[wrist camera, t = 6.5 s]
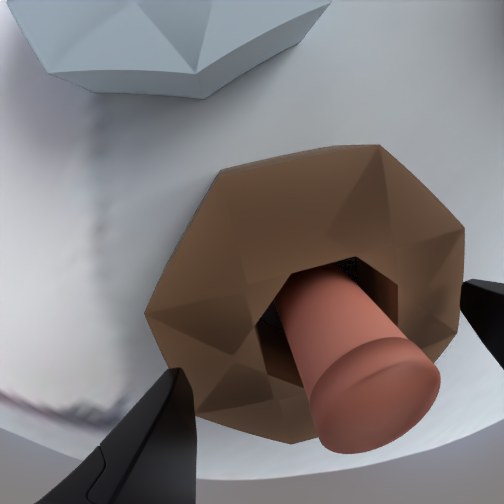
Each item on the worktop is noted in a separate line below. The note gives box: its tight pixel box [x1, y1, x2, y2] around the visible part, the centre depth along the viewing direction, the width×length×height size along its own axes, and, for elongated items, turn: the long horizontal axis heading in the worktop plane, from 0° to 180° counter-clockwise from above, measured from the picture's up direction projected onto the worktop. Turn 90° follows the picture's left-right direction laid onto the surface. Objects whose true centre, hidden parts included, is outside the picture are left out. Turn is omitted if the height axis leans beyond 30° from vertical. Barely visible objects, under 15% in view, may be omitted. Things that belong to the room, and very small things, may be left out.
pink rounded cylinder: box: [273, 262, 441, 454], centre depth 9 cm, size 3×3×7 cm
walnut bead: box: [144, 145, 465, 444], centre depth 10 cm, size 10×10×4 cm
